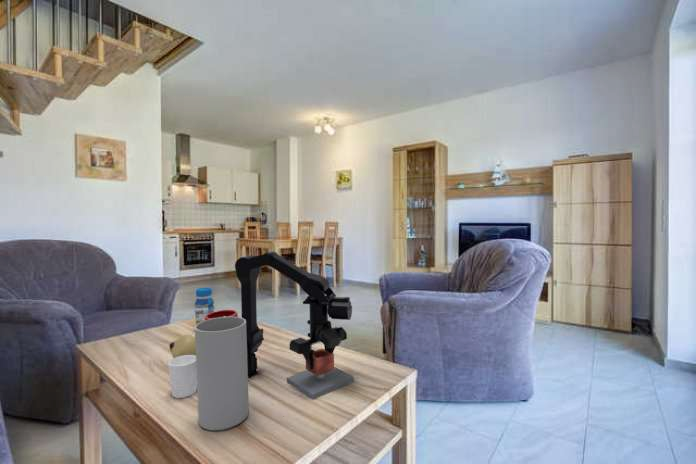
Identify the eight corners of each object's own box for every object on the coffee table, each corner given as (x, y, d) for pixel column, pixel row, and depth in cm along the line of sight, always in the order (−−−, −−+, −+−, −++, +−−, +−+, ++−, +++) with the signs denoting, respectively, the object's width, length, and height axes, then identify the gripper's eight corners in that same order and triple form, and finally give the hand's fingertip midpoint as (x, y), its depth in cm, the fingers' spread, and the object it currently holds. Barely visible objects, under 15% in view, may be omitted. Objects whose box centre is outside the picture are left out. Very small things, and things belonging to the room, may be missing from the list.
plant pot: (226, 333, 155) (225, 307, 154) (244, 339, 147) (243, 312, 146) (199, 342, 144) (198, 314, 143) (217, 349, 136) (216, 319, 136)
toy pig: (190, 354, 131) (189, 327, 131) (208, 361, 125) (207, 333, 124) (164, 364, 123) (163, 335, 123) (183, 372, 116) (181, 341, 116)
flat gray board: (312, 399, 97) (312, 379, 97) (286, 382, 108) (286, 363, 108) (353, 381, 108) (353, 362, 108) (326, 366, 118) (326, 350, 118)
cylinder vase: (198, 437, 81) (194, 335, 80) (198, 410, 93) (195, 320, 92) (252, 424, 86) (248, 327, 85) (245, 400, 98) (243, 314, 97)
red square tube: (317, 376, 103) (317, 359, 103) (305, 369, 108) (305, 353, 108) (334, 369, 107) (333, 354, 107) (322, 363, 112) (321, 348, 112)
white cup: (179, 402, 97) (178, 368, 97) (164, 395, 101) (162, 362, 101) (204, 390, 104) (202, 358, 104) (188, 383, 108) (187, 353, 108)
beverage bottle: (218, 331, 158) (216, 288, 158) (200, 335, 152) (198, 291, 151) (210, 327, 164) (208, 286, 163) (192, 331, 158) (190, 289, 157)
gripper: (308, 330, 95) (310, 385, 95) (357, 316, 107) (358, 365, 108) (287, 322, 103) (289, 372, 104) (335, 310, 115) (336, 355, 116)
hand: (319, 366), depth 108 cm, fingers closed on red square tube, 6 cm apart
